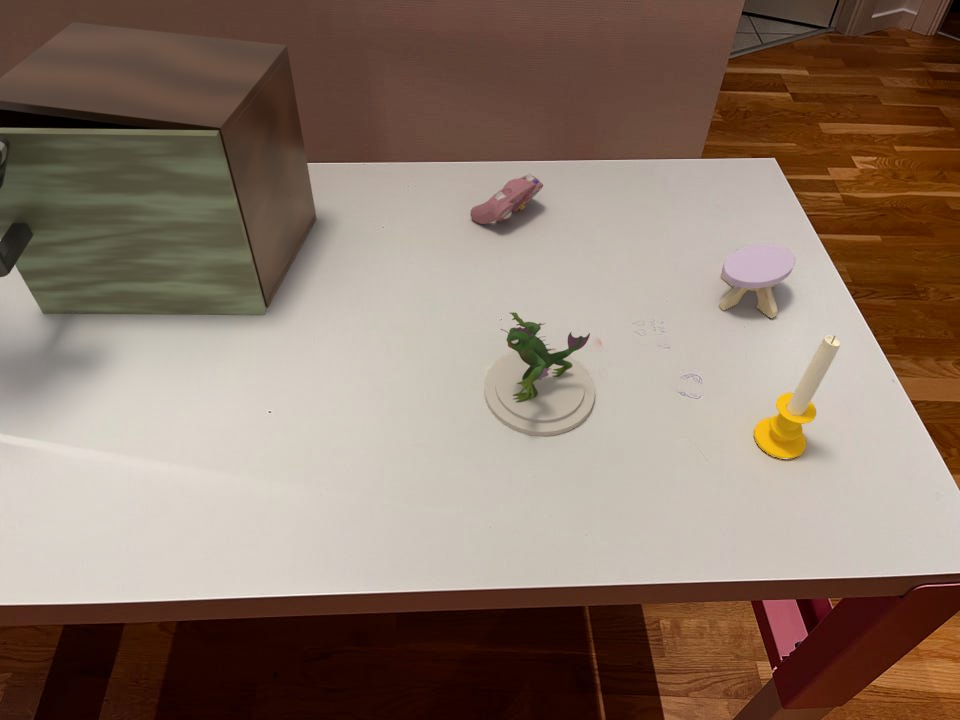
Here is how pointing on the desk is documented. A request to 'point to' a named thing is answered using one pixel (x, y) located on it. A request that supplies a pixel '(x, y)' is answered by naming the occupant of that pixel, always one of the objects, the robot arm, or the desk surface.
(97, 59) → the cupboard
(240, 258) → the cupboard door
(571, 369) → the monster figurine
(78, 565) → the desk surface
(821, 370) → the candle
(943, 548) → the desk surface
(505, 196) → the pink toy car
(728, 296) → the toy table
